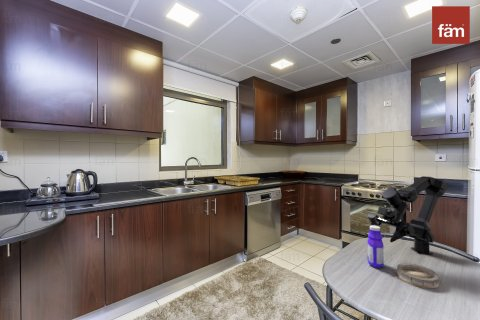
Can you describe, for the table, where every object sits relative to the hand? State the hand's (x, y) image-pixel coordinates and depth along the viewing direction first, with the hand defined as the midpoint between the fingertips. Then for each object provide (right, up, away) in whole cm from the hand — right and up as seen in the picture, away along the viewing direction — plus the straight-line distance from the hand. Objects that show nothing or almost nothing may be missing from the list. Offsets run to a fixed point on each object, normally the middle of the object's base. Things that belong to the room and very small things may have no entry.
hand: (380, 238), depth 99 cm
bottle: (-3, -12, -1) cm, 12 cm away
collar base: (+6, -12, -13) cm, 18 cm away
